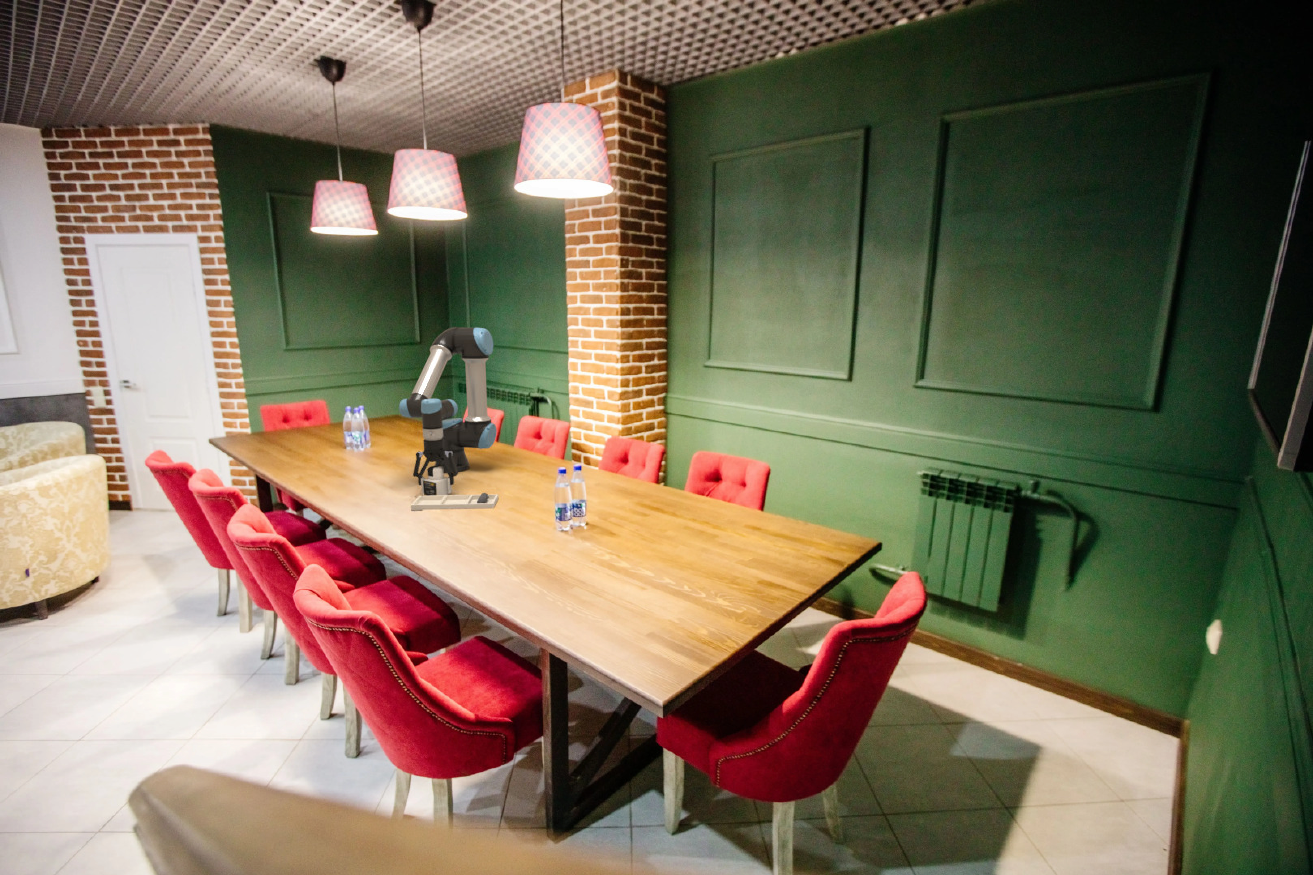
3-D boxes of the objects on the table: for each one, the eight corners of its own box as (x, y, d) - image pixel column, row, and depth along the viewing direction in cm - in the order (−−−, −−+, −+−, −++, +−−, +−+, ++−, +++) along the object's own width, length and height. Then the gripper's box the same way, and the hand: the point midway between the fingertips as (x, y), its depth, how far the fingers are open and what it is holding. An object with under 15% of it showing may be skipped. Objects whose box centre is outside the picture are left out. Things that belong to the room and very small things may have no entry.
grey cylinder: (479, 499, 247) (481, 492, 246) (487, 500, 247) (489, 493, 247) (476, 505, 239) (477, 498, 239) (484, 507, 240) (485, 500, 239)
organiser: (419, 501, 247) (419, 495, 246) (498, 499, 250) (498, 494, 249) (411, 510, 235) (410, 505, 235) (493, 509, 238) (493, 503, 238)
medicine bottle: (423, 496, 252) (421, 467, 250) (437, 491, 258) (435, 463, 256) (436, 499, 249) (434, 469, 246) (450, 494, 255) (448, 465, 253)
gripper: (401, 440, 244) (405, 496, 249) (460, 440, 246) (463, 495, 251) (407, 436, 251) (411, 490, 256) (464, 436, 253) (467, 489, 258)
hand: (437, 492), depth 253 cm, fingers closed on medicine bottle, 10 cm apart
